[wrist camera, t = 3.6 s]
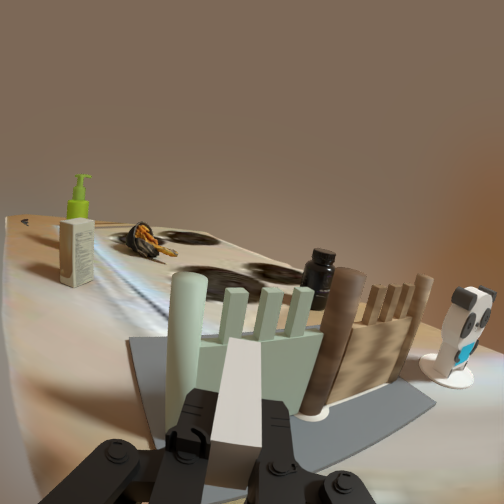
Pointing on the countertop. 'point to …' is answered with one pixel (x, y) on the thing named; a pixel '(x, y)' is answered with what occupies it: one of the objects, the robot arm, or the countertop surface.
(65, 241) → the skincare box
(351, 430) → the card
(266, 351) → the fence panel
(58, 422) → the countertop surface
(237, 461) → the robot arm
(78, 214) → the soap dispenser
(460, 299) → the panda figurine
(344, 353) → the fence fixed
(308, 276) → the supplement bottle
